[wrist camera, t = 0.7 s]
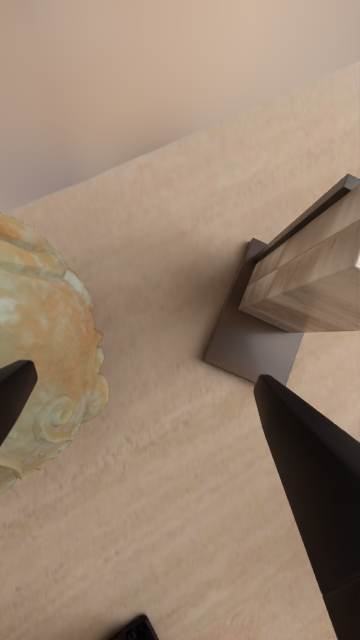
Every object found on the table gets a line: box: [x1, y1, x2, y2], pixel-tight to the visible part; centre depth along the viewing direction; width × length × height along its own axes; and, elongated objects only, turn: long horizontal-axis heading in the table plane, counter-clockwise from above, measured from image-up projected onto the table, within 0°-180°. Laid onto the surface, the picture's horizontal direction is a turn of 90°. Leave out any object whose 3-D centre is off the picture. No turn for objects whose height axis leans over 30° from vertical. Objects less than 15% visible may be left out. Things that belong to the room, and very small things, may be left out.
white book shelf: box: [202, 174, 360, 386], centre depth 17 cm, size 16×10×15 cm, turn 157°
